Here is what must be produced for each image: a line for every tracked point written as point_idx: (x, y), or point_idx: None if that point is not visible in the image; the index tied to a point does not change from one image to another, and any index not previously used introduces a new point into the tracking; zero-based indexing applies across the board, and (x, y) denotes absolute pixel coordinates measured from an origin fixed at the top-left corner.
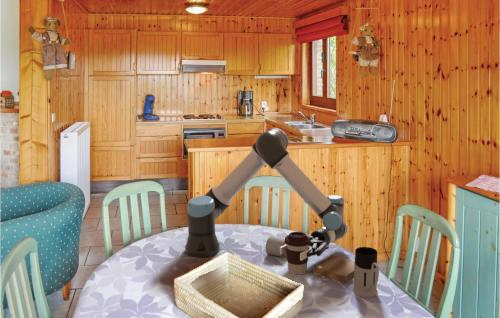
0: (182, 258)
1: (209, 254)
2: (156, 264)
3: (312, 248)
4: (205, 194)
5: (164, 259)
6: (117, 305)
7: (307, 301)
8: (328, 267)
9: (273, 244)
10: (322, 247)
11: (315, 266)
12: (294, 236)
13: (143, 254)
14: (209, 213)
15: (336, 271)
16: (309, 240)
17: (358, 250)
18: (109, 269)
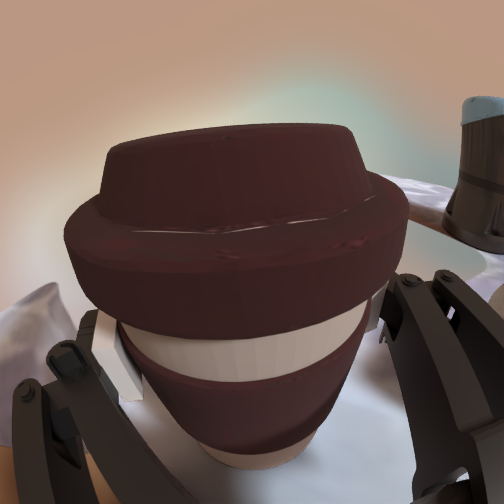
0: (435, 212)
1: (451, 229)
2: (407, 195)
3: (76, 351)
4: None
5: (428, 201)
6: None
7: (61, 305)
8: None
9: (496, 305)
10: (17, 481)
11: None
12: (203, 129)
13: (444, 195)
14: (476, 120)
15: (4, 466)
16: (66, 226)
17: None
18: (392, 178)
